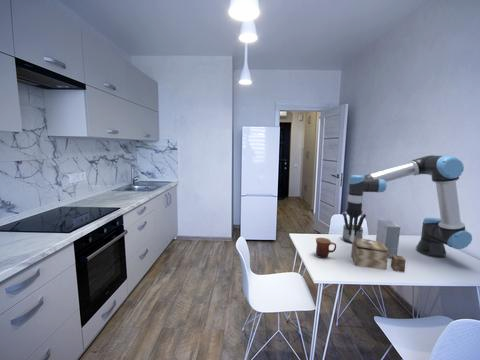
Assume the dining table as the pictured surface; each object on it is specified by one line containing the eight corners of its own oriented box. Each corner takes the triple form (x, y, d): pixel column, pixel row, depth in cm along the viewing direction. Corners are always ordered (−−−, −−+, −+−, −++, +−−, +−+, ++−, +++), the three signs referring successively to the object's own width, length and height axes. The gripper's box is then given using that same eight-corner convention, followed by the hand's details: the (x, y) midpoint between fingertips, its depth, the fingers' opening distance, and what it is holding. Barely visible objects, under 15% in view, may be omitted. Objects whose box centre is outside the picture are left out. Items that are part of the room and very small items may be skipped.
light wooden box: (379, 259, 143) (381, 243, 142) (386, 269, 132) (388, 252, 130) (351, 256, 147) (352, 240, 145) (355, 265, 135) (357, 248, 134)
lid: (380, 243, 142) (381, 241, 141) (388, 252, 130) (388, 249, 130) (352, 238, 145) (352, 236, 145) (357, 246, 134) (357, 244, 133)
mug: (313, 257, 144) (314, 241, 143) (315, 251, 152) (316, 236, 151) (334, 261, 139) (336, 245, 138) (335, 255, 147) (336, 239, 146)
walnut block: (400, 267, 134) (401, 256, 133) (404, 272, 129) (405, 260, 128) (390, 266, 135) (392, 254, 134) (394, 270, 130) (395, 258, 129)
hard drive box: (397, 258, 145) (401, 227, 142) (383, 257, 146) (387, 226, 143) (387, 248, 160) (390, 219, 157) (374, 246, 161) (377, 218, 158)
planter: (359, 238, 176) (360, 225, 175) (363, 245, 164) (365, 230, 162) (341, 236, 179) (342, 223, 177) (344, 243, 167) (345, 229, 165)
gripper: (364, 201, 139) (361, 239, 142) (341, 199, 141) (338, 237, 145) (369, 204, 132) (365, 244, 135) (344, 202, 134) (341, 242, 137)
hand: (351, 240), depth 140 cm, fingers closed
